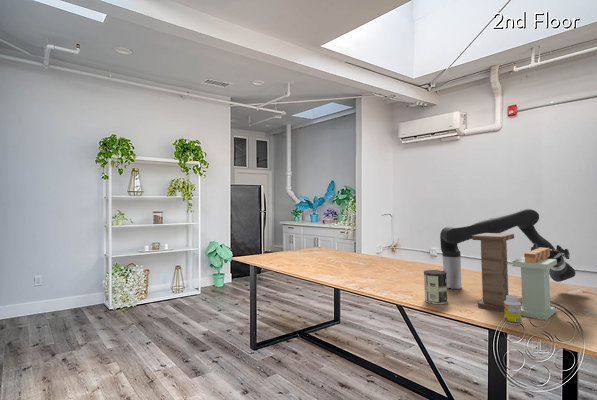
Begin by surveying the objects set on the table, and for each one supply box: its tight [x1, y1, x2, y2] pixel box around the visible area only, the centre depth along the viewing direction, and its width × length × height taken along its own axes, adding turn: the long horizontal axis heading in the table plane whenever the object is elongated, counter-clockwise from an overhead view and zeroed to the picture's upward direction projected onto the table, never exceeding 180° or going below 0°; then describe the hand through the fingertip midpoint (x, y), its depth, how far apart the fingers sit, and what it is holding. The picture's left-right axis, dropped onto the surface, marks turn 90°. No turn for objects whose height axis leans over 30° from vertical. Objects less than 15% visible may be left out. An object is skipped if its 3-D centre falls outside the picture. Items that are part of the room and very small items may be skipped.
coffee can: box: [423, 269, 449, 305], centre depth 166 cm, size 10×10×14 cm
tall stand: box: [471, 233, 515, 313], centre depth 156 cm, size 16×12×32 cm
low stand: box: [511, 256, 557, 321], centre depth 145 cm, size 16×12×22 cm
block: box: [523, 248, 550, 263], centre depth 148 cm, size 24×4×4 cm, turn 132°
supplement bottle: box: [503, 294, 522, 326], centre depth 134 cm, size 6×6×10 cm
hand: (546, 246), depth 158 cm, fingers open, 8 cm apart
